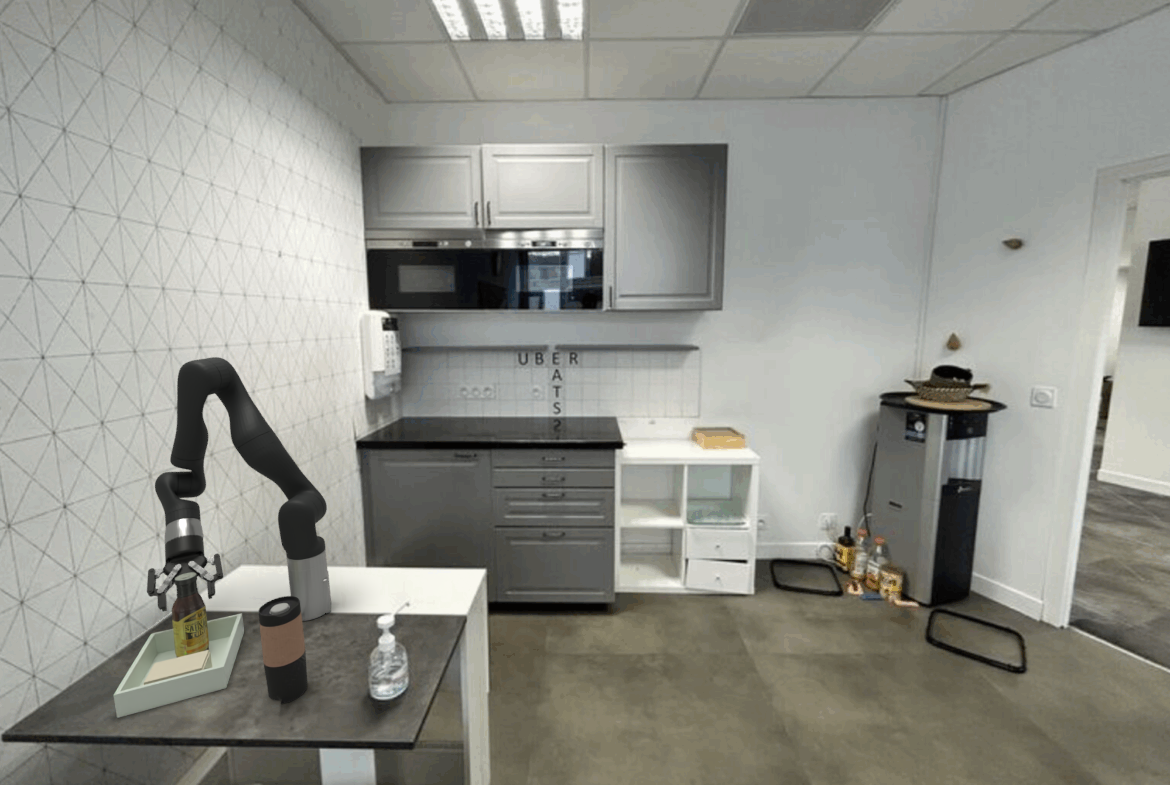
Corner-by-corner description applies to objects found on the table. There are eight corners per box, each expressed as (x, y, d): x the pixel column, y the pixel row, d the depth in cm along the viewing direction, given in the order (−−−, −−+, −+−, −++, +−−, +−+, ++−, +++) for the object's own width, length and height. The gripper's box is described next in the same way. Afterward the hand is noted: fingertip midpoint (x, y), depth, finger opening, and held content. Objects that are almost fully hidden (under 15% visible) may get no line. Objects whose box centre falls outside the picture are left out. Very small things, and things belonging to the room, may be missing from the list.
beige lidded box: (212, 669, 112) (210, 649, 112) (205, 689, 106) (202, 668, 105) (156, 683, 108) (153, 662, 107) (145, 705, 102) (142, 683, 101)
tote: (244, 635, 126) (241, 613, 125) (226, 691, 107) (223, 666, 106) (154, 656, 118) (151, 633, 118) (117, 722, 99) (113, 695, 98)
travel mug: (282, 678, 110) (273, 595, 108) (316, 679, 110) (308, 595, 107) (259, 705, 103) (248, 616, 100) (295, 705, 103) (285, 616, 100)
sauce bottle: (191, 666, 113) (180, 585, 110) (169, 663, 115) (158, 582, 112) (217, 648, 120) (208, 571, 117) (196, 645, 121) (186, 568, 118)
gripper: (144, 542, 118) (145, 609, 110) (218, 527, 126) (223, 588, 119) (149, 555, 123) (150, 619, 115) (220, 539, 131) (225, 599, 124)
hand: (187, 603), depth 117 cm, fingers open, 8 cm apart
